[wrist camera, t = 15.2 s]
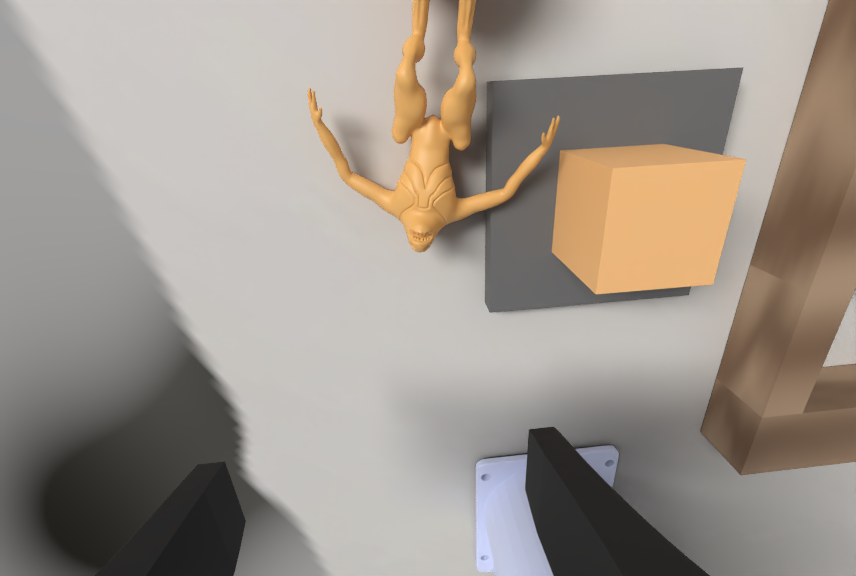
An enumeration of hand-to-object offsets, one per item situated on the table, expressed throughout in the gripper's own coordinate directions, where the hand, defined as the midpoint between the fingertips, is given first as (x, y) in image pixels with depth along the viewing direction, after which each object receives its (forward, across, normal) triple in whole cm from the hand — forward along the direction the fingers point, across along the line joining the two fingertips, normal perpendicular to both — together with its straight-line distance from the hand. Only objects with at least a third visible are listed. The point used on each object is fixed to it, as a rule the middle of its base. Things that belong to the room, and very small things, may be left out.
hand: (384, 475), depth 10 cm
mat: (+9, -9, -4) cm, 14 cm away
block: (+8, -9, -4) cm, 13 cm away
